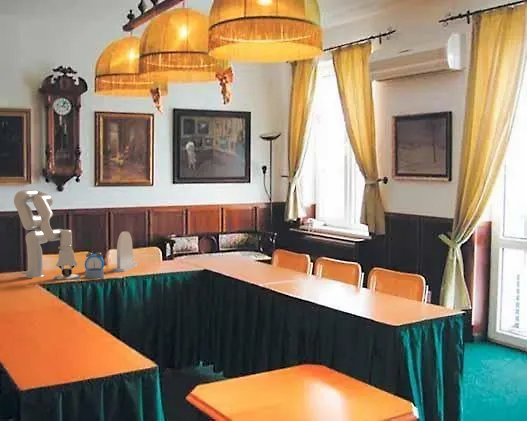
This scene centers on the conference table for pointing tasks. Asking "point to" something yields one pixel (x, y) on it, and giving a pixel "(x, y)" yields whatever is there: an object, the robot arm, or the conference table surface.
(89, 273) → the gray square block
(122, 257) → the award
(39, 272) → the robot arm
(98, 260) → the alarm clock
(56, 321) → the conference table surface
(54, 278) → the mat
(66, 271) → the lid
